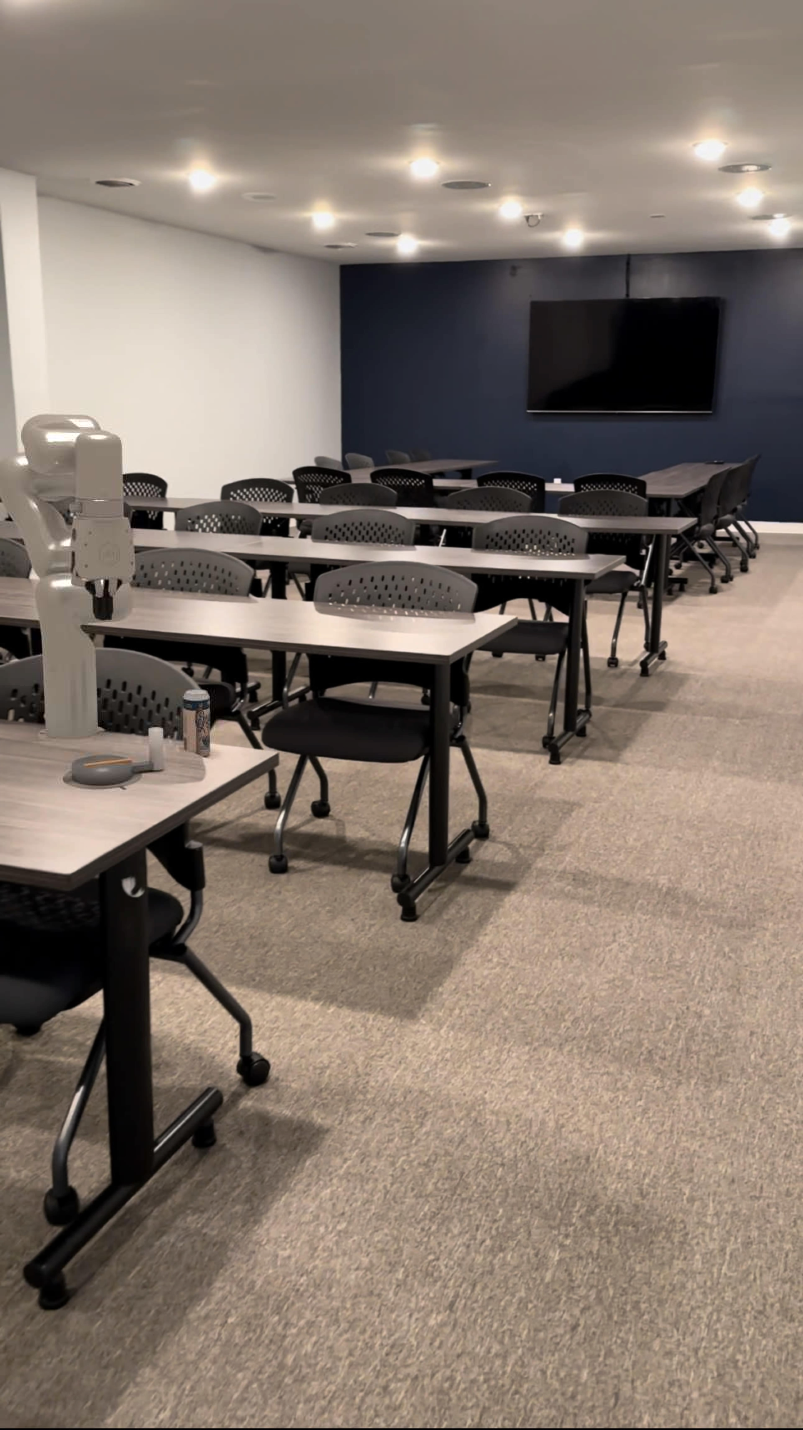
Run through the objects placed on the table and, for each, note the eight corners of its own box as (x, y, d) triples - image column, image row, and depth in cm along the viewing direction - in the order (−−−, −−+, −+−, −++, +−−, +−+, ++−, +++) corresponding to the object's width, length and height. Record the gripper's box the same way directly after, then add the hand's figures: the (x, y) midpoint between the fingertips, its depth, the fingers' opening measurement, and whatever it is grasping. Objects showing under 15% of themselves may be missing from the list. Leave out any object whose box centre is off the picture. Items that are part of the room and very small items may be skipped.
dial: (81, 787, 199) (80, 746, 197) (64, 770, 207) (63, 731, 205) (173, 775, 207) (172, 735, 205) (153, 759, 215) (152, 721, 213)
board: (37, 776, 209) (37, 769, 208) (127, 760, 219) (127, 753, 219) (91, 808, 194) (91, 800, 194) (185, 789, 205) (184, 781, 204)
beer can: (204, 760, 221) (204, 696, 218) (179, 757, 222) (179, 693, 219) (213, 752, 226) (213, 689, 223) (189, 750, 227) (188, 687, 224)
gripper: (68, 513, 193) (72, 626, 198) (151, 510, 203) (153, 618, 208) (47, 508, 199) (51, 619, 204) (129, 505, 208) (132, 611, 213)
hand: (103, 618), depth 206 cm, fingers closed
